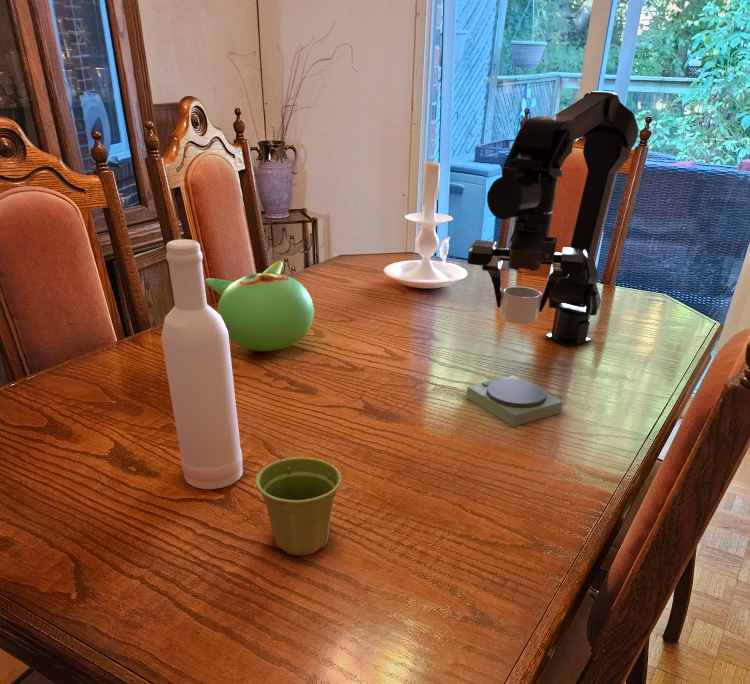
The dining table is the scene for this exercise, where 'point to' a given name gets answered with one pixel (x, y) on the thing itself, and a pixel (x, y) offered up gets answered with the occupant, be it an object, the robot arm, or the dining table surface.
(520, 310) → the cup
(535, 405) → the scale
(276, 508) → the plant pot
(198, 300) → the bottle
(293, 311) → the green rounded piece
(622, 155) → the robot arm
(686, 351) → the dining table surface
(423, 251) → the candlestick
